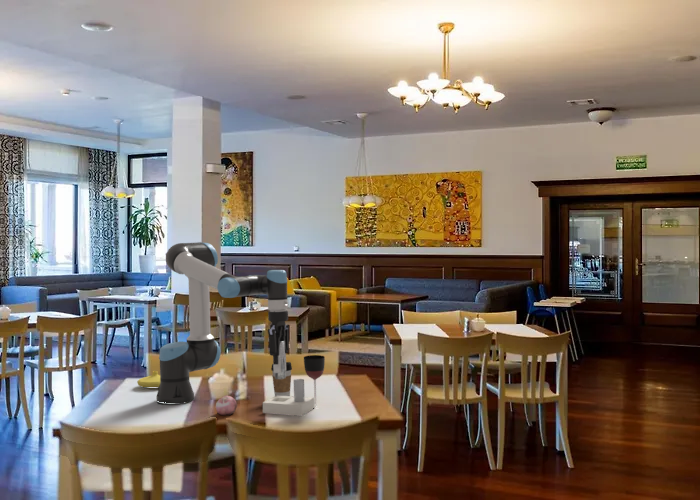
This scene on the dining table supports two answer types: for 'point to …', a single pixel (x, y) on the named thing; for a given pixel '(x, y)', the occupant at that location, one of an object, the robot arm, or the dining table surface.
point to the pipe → (282, 360)
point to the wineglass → (314, 369)
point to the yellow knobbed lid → (150, 380)
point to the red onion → (226, 405)
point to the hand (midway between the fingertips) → (280, 371)
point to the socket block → (290, 402)
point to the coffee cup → (283, 382)
